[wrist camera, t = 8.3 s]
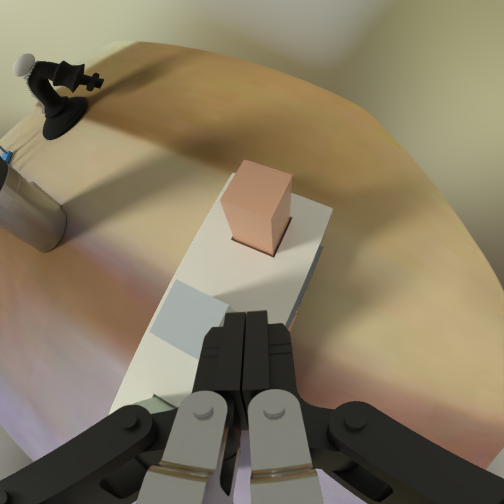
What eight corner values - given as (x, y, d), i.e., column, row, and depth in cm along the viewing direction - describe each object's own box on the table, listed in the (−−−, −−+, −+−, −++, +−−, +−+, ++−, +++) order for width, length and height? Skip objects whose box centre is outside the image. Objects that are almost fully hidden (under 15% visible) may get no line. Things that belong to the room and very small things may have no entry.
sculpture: (54, 110, 60) (15, 55, 36) (119, 82, 59) (85, 12, 35) (38, 147, 54) (-13, 89, 31) (107, 117, 54) (59, 38, 30)
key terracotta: (272, 257, 33) (271, 219, 24) (235, 241, 34) (219, 199, 25) (289, 222, 35) (292, 175, 25) (252, 208, 36) (244, 159, 26)
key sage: (187, 440, 30) (158, 465, 20) (155, 421, 31) (117, 438, 21) (202, 411, 31) (176, 430, 22) (169, 392, 32) (133, 403, 23)
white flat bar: (215, 473, 29) (205, 491, 23) (124, 420, 32) (102, 428, 26) (331, 230, 39) (339, 211, 34) (238, 195, 42) (232, 172, 37)
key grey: (224, 358, 30) (201, 361, 20) (185, 338, 31) (149, 331, 22) (243, 319, 31) (228, 304, 22) (204, 300, 32) (176, 279, 23)
